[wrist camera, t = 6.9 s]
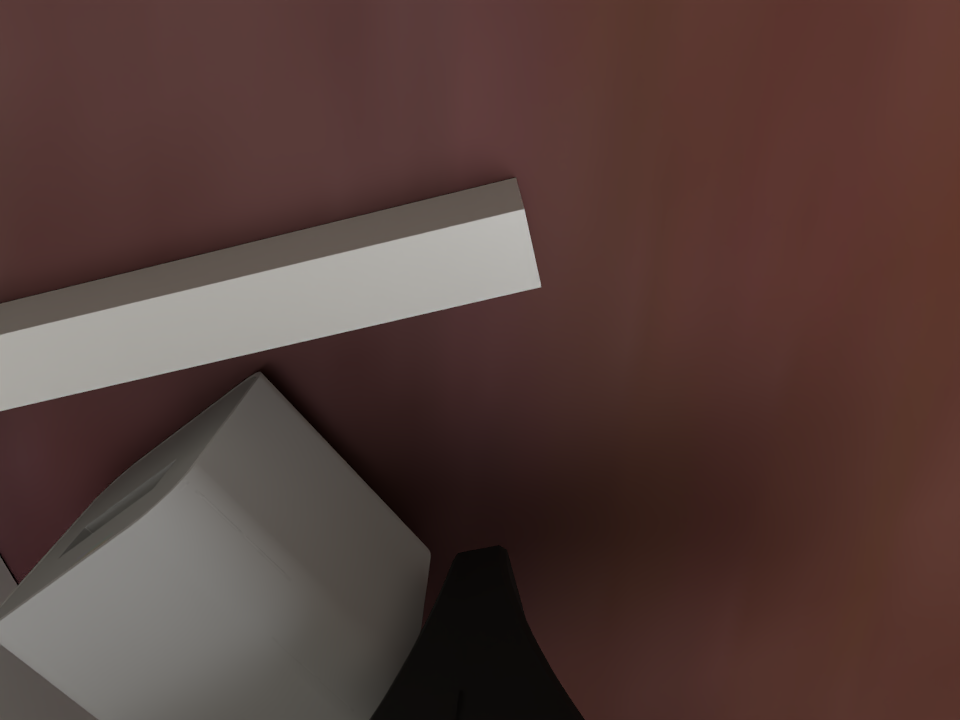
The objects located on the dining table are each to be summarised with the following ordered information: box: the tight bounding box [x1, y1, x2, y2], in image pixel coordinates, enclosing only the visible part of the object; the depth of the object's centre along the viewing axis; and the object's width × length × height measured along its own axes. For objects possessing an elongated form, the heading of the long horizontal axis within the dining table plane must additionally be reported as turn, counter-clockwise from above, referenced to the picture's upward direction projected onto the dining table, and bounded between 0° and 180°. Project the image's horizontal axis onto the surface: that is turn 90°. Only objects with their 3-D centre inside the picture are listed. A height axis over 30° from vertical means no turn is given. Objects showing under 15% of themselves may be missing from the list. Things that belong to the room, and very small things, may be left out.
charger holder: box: [0, 178, 541, 720], centre depth 13 cm, size 12×13×2 cm
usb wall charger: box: [0, 372, 431, 720], centre depth 12 cm, size 4×7×4 cm, turn 37°
